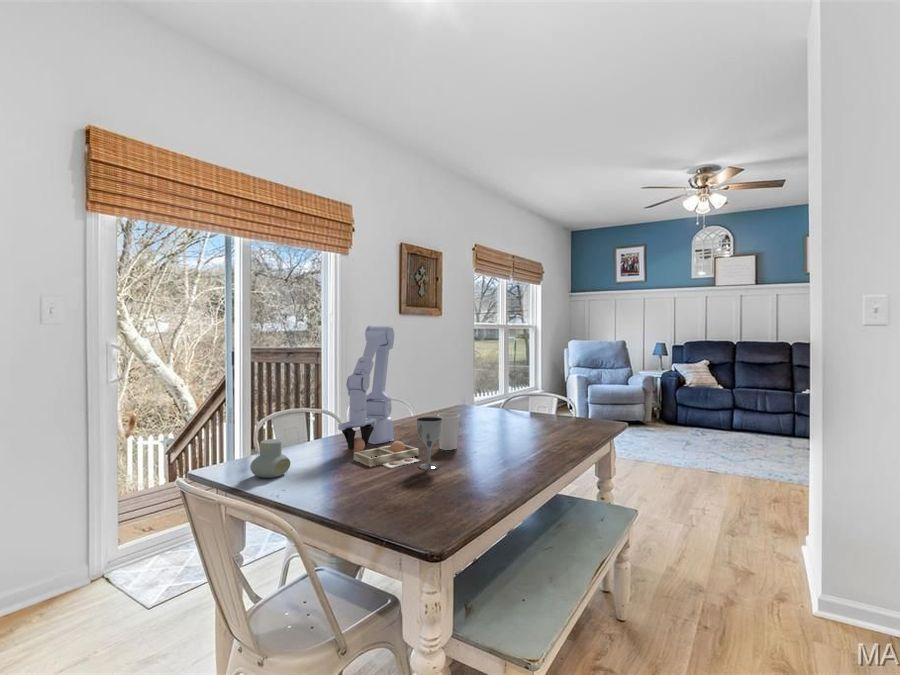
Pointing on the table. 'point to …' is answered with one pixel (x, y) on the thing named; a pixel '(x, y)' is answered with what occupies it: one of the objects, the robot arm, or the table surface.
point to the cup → (449, 431)
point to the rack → (387, 457)
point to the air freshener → (270, 460)
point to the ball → (397, 447)
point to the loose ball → (359, 445)
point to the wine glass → (429, 435)
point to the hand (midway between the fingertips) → (357, 448)
